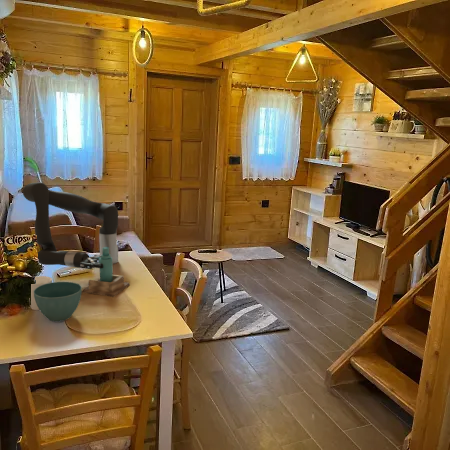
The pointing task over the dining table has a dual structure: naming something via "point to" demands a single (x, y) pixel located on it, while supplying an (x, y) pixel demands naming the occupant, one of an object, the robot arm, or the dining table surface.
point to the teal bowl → (58, 299)
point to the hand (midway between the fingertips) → (107, 263)
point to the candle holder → (39, 281)
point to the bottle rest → (107, 286)
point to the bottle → (106, 266)
